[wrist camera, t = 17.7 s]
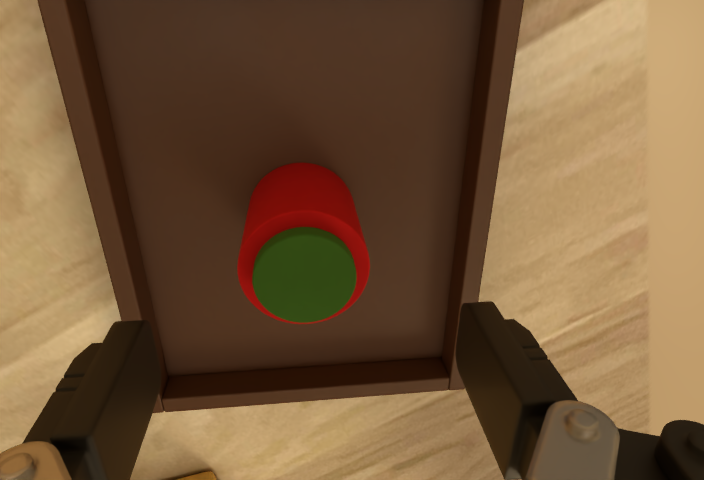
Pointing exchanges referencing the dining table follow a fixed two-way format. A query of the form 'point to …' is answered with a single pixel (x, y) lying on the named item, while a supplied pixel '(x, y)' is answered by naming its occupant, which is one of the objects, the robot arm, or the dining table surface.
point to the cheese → (200, 476)
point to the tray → (281, 149)
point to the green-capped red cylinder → (302, 246)
